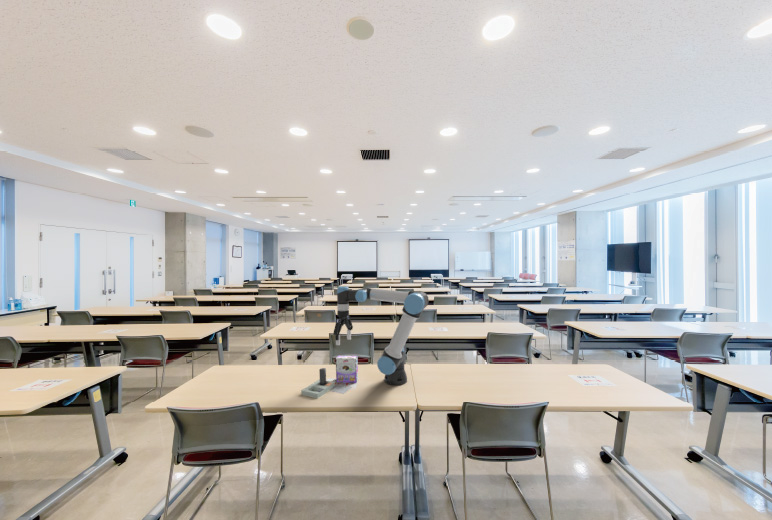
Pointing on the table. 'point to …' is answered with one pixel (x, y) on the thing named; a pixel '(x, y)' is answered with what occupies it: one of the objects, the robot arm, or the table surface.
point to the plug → (322, 376)
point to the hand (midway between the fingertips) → (343, 342)
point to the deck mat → (341, 389)
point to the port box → (317, 389)
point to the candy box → (347, 369)
